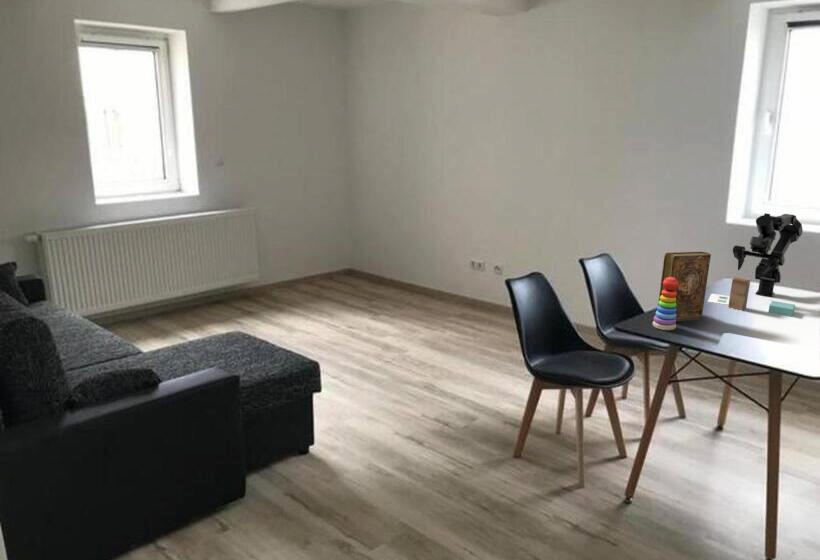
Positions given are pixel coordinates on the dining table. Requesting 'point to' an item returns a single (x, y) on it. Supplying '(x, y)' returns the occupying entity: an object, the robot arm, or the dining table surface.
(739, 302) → the column brick
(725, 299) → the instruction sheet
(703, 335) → the dining table surface
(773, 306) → the base brick
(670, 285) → the stacking toy
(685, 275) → the book
